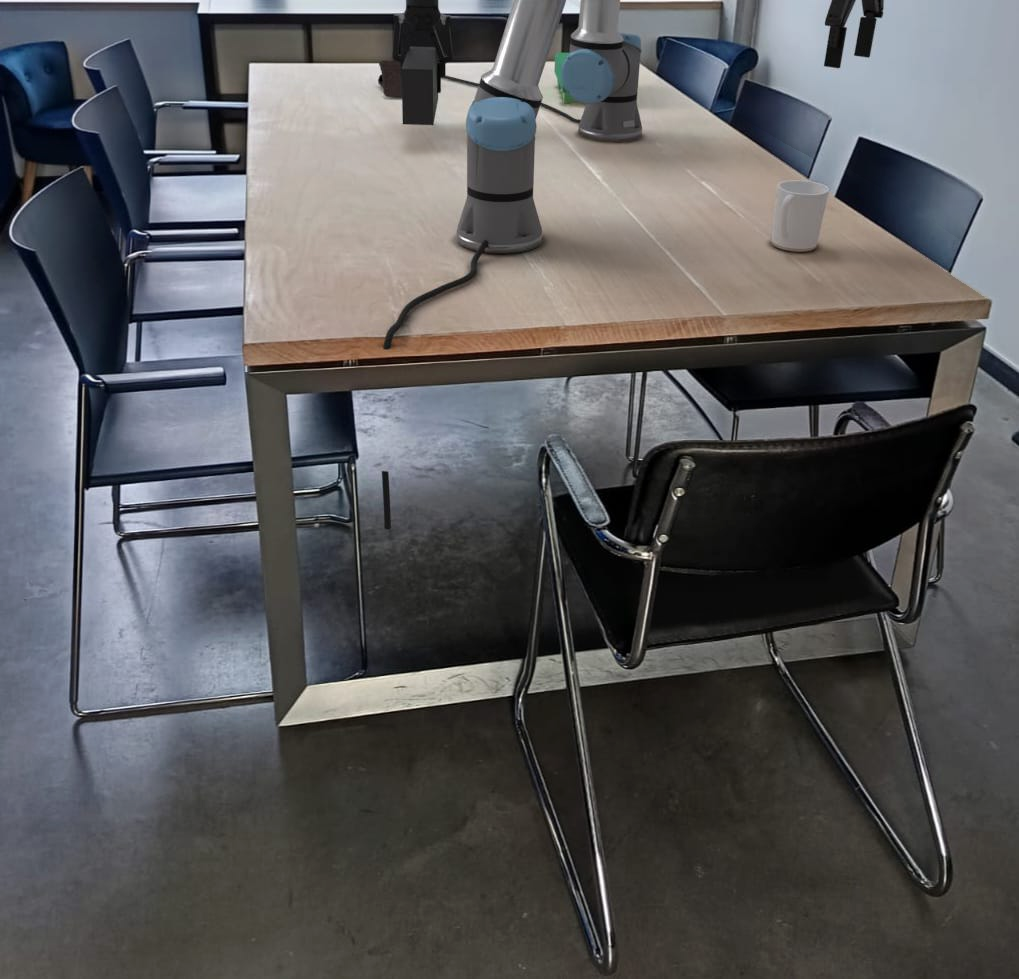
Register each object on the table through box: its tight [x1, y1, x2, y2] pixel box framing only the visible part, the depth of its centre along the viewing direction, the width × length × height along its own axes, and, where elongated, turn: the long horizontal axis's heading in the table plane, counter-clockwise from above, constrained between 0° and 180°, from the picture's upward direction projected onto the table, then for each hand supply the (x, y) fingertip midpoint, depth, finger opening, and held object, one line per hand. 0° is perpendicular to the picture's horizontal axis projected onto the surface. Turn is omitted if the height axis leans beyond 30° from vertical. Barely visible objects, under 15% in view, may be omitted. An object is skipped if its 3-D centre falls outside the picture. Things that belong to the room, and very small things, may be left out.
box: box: [401, 46, 439, 126], centre depth 253 cm, size 26×7×12 cm, turn 1°
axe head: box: [377, 59, 402, 99], centre depth 299 cm, size 18×8×15 cm
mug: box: [770, 179, 830, 253], centre depth 193 cm, size 11×9×10 cm
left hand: (847, 61), depth 194 cm, fingers open, 13 cm apart
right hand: (423, 91), depth 263 cm, fingers closed on box, 7 cm apart
